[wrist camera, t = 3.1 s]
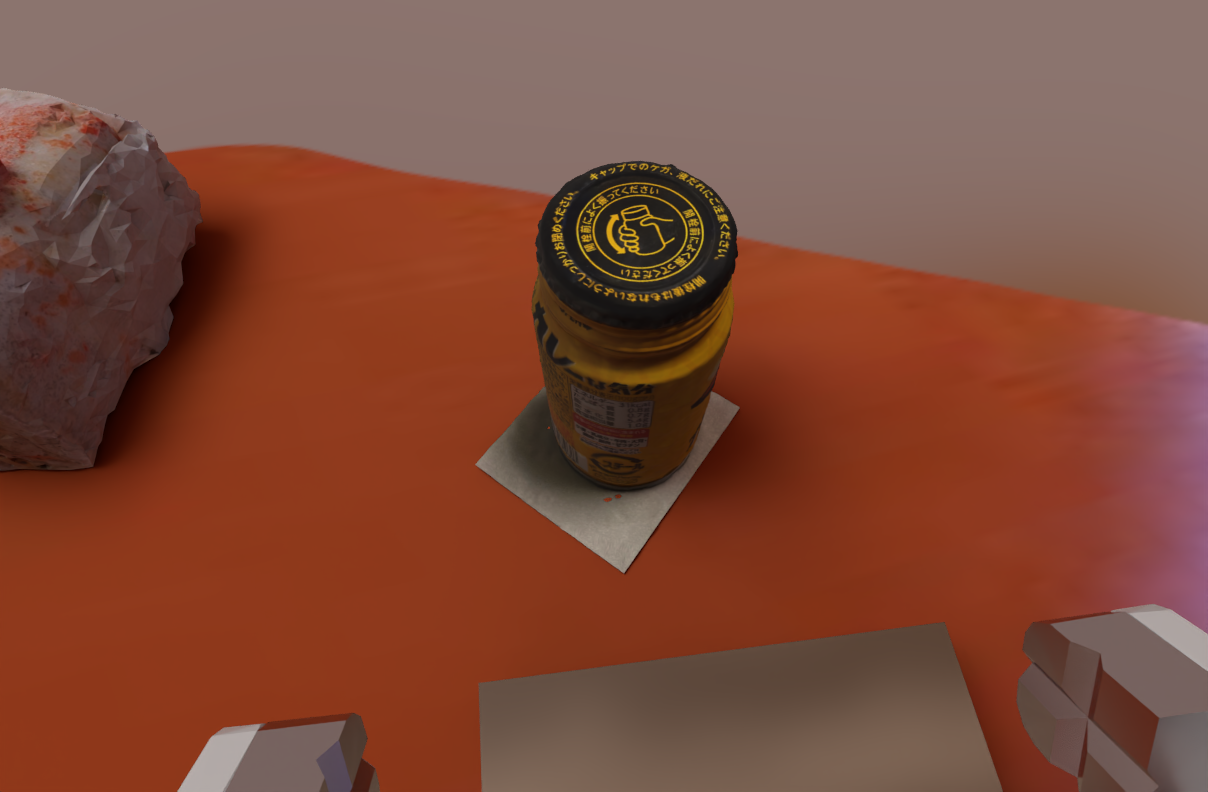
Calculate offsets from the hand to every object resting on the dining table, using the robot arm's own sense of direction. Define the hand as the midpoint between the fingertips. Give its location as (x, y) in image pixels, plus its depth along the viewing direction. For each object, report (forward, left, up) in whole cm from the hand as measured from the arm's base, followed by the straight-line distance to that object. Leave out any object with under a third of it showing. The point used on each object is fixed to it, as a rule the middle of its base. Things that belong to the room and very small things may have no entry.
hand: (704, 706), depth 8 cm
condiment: (+11, 0, -16) cm, 19 cm away
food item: (+18, +22, -16) cm, 33 cm away
